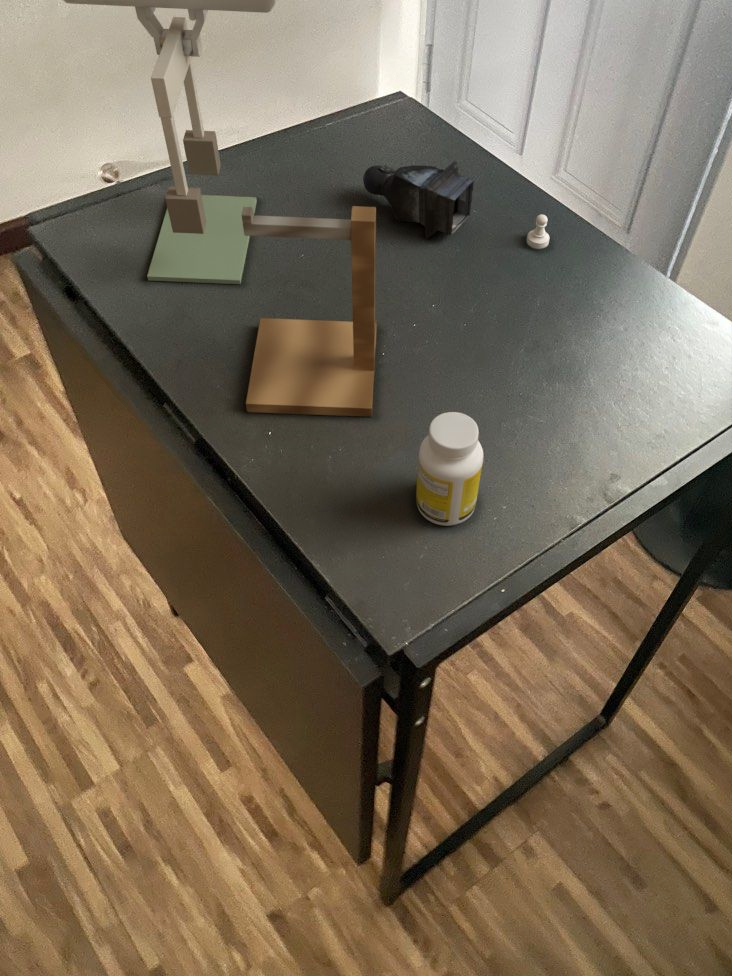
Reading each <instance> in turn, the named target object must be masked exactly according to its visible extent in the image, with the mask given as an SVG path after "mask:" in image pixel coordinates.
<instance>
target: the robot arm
mask: <svg viewBox="0 0 732 976" xmlns="http://www.w3.org/2000/svg"><path fill="white" fill-rule="evenodd" d="M62 1H63V2H64V3H66V4H71V5H92V6H93V5H94V6H113V7H134V10H135V13H136V18H137V20H138V21H139V22H140V23H141V25H142V27H144V29H145V30H146V31H147V33H148V34H149V35H150V36H151V38H153V42H154V47H155V52H156V55H157V56H159V54H160V52H161V49H162V46H163V44H164V41H165V38H166V35H167V33H168V30H169V28H164V27H163V25H162V23H161V22H160V21H159V18H157V16H156V15H155V11H156V9H178V10H179V9H180V10H183V9H184V10H187V13H188V19H189V21H192V22H193V21H194V24H193V27H192V29H188V30H184V32H183V35H182V38H181V40H182V46H183V47H184V50H183V51H184V56H191V57H194V58H201V55H202V52H203V46H202V39H201V32H202V29H203V26H204V25H205V21H206V18H207V15H208V12H209V11H221V12H222V11H223V12H242V13H244V12H246V13H261V14H262V13H263V14H265V13H267V14H268V13H270V12H271V11H272V10H273V9H274V7H275V6H276V4H277V2H278V0H62Z"/></svg>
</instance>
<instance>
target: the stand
mask: <svg viewBox="0 0 732 976" xmlns="http://www.w3.org/2000/svg"><path fill="white" fill-rule="evenodd" d="M242 222H243V230H244V235H245V236H250V237H264V238H265V237H268V238H290V239H294V238H295V239H315V240H336V241H337V240H338V241H339V240H340V241H350V245H351V246H350V247H351V248H350V249H351V252H350V253H351V254H350V255H351V297H352V298H351V300H352V306H351V307H352V321H345V320H341V321H340V320H319V319H318V320H316V319H295V318H292V319H291V318H267V317H260V318H259V324H258V329H257V336H256V341H255V347H254V353H253V358H252V365H251V370H250V376H249V382H248V387H247V394H246V400H245V407H246V412H247V413H260V414H261V413H263V414H284V415H285V414H288V415H291V414H292V415H310V416H311V415H313V416H314V415H315V416H342V417H366V418H372V417H373V408H374V407H373V406H374V405H373V403H374V389H375V387H374V386H375V385H374V384H375V369H376V352H377V351H376V350H377V349H376V348H377V335H378V334H377V332H378V331H377V330H378V329H377V328H378V324H377V322H376V271H377V270H376V269H377V268H376V263H377V262H376V260H377V259H376V257H377V256H376V254H377V248H376V247H377V207H376V206H356V205H352V206H351V214H350V219H347V218H346V219H345V218H323V217H322V218H321V217H318V218H317V217H300V216H299V217H298V216H297V217H296V216H277V215H276V216H275V215H255V213H254V214H253V208H252V207H243V211H242Z"/></svg>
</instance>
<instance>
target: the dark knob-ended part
mask: <svg viewBox="0 0 732 976" xmlns="http://www.w3.org/2000/svg"><path fill="white" fill-rule="evenodd" d="M362 181H363V185H364V188H365V190H366V191H367V192H368V193H369V194H371V195H373V196H382V197H384V198H385V199H386V201H387V202H388V204H389V206H390V208H391V210H392V213H393V215H394V218H395V219H396V221H400V222H407V223H408V222H409V223H420V224H421V225H422V226H424V228H425V229H424V238H425V239H428V238H429V237H432V236H433V235H434V234H435V233H436V232H438V231H439V232H442V233H443V234H444V235H445V236H453V235H454V233H456V231H458V229H459V228H460V227H461V226H462V225H463V224H464V223H465V222H466V221H467V220H468V218H469V217H470V216H471V210H472V202H473V191H474V182H475V180H474V179H471V177H470V175H467V176H463V175H460V173H459V166H458V162H457V160H454V161H453V162H451V163H450V165H448V166H447V167H446V168H445V169H442V168H438V167H436V166H434V165H408V166H400V167H398V168H397V169H395V168H393V167H390V166H387V165H378V164H377V165H372V166H370V167H368V168H367V169H366V170H365V172H364V173H363V176H362Z"/></svg>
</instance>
